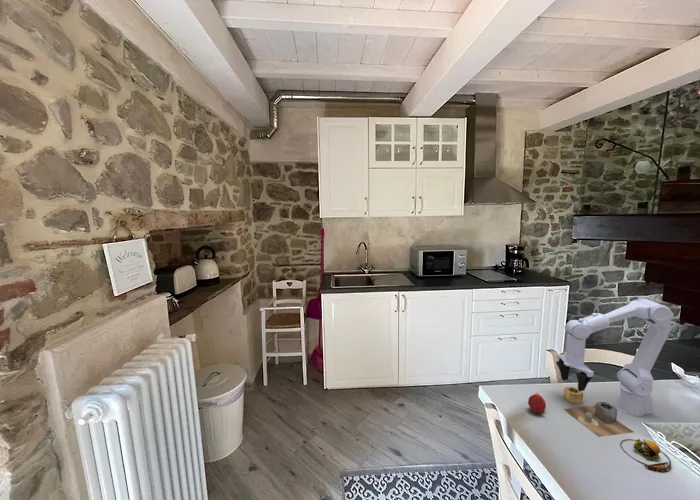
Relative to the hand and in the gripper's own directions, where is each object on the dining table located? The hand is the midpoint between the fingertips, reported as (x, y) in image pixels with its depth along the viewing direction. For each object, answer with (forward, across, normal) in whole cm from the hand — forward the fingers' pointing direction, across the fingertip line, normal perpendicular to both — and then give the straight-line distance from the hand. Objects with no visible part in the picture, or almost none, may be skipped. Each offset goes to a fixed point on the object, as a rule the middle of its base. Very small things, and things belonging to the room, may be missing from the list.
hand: (572, 384), depth 123 cm
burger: (+10, +26, +2) cm, 28 cm away
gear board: (+10, +10, +1) cm, 14 cm away
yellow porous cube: (+10, -3, +4) cm, 11 cm away
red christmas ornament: (+10, 0, -16) cm, 18 cm away
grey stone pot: (+8, +10, +5) cm, 14 cm away
